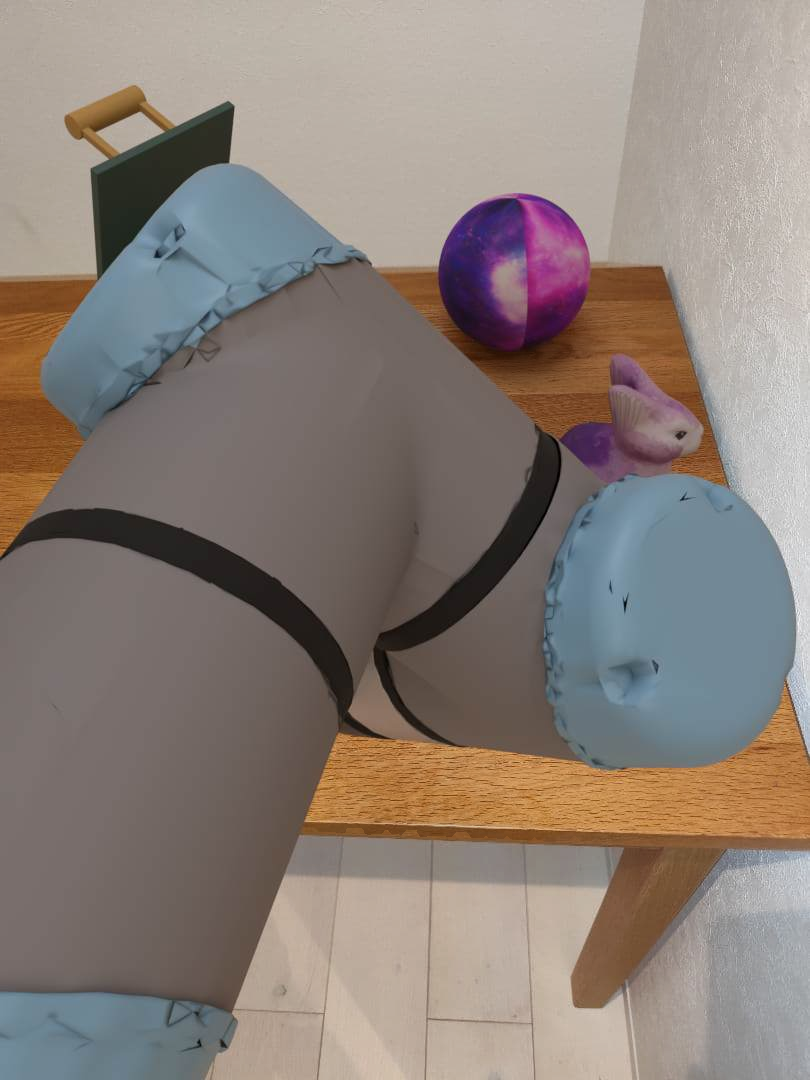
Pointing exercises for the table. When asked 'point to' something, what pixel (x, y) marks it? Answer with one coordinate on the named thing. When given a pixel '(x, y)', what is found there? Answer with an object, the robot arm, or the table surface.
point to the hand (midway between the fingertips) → (221, 655)
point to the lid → (144, 164)
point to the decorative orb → (514, 272)
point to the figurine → (635, 428)
